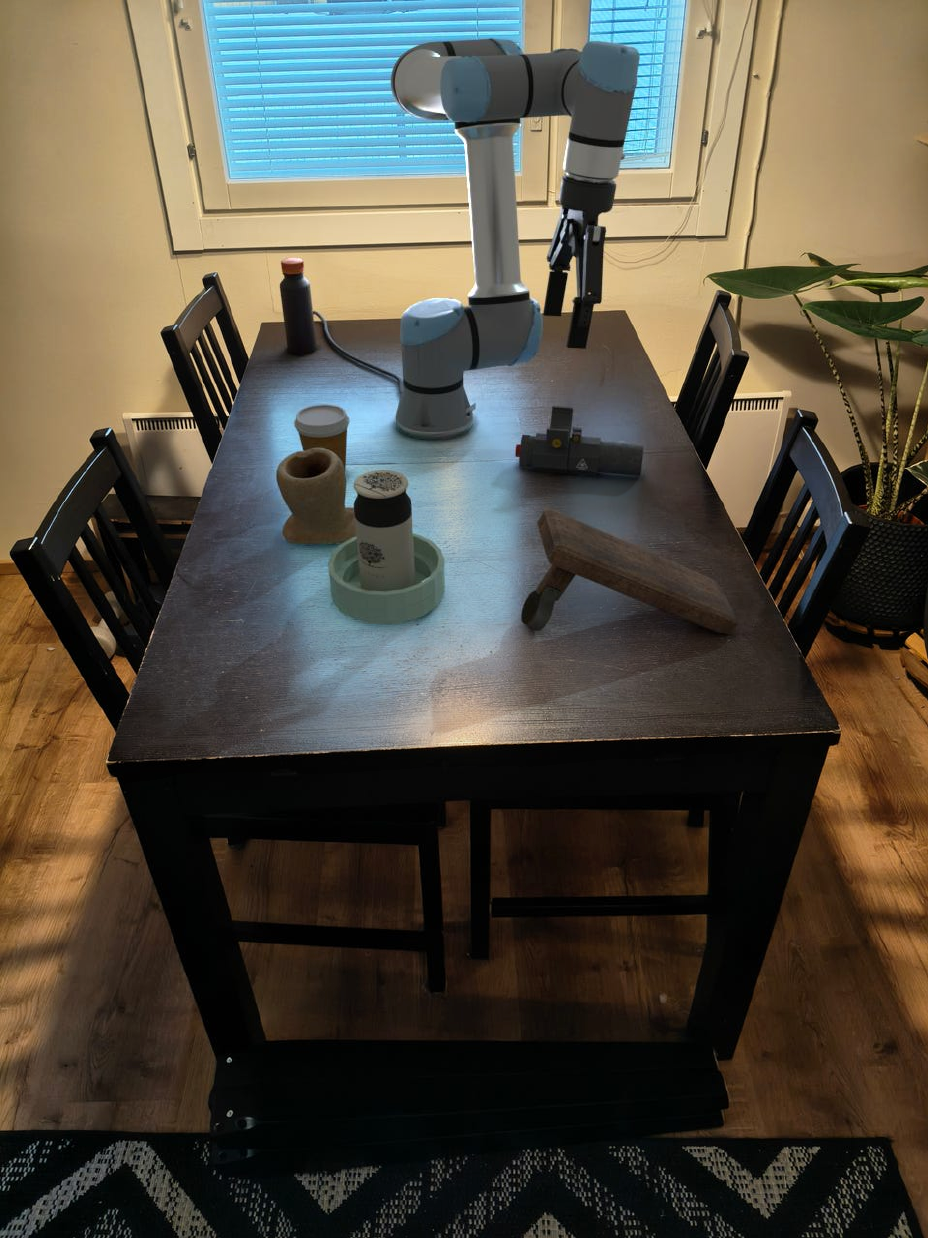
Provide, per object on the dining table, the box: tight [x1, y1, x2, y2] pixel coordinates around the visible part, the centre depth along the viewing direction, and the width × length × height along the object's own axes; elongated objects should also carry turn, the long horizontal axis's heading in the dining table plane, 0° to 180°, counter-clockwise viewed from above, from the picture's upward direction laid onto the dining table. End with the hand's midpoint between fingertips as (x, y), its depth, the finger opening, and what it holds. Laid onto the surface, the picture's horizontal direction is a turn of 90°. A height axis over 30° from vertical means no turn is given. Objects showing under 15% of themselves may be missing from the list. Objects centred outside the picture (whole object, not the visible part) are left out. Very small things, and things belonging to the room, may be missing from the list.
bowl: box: [327, 532, 446, 626], centre depth 134 cm, size 17×17×6 cm
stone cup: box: [275, 448, 356, 546], centre depth 144 cm, size 15×12×15 cm
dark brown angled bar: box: [520, 507, 739, 635], centre depth 128 cm, size 10×16×30 cm
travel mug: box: [353, 469, 415, 591], centre depth 130 cm, size 8×8×18 cm
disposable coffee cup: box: [293, 403, 351, 471], centre depth 161 cm, size 10×10×12 cm
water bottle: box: [279, 257, 318, 355], centre depth 208 cm, size 7×7×20 cm
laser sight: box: [514, 405, 645, 477], centre depth 163 cm, size 10×22×10 cm, turn 80°
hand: (563, 330), depth 137 cm, fingers open, 13 cm apart
